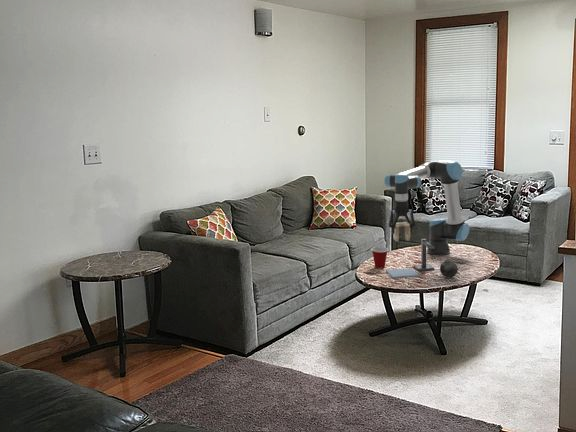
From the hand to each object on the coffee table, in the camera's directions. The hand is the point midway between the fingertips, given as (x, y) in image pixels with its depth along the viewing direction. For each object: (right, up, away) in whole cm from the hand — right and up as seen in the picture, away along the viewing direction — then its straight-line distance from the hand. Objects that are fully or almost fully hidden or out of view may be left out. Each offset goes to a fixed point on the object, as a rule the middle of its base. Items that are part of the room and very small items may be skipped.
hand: (401, 238), depth 373 cm
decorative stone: (+26, -23, -7) cm, 35 cm away
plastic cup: (-10, -19, +22) cm, 31 cm away
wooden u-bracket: (0, -1, 0) cm, 1 cm away
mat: (+1, -22, +4) cm, 22 cm away
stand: (+17, -20, +8) cm, 27 cm away
